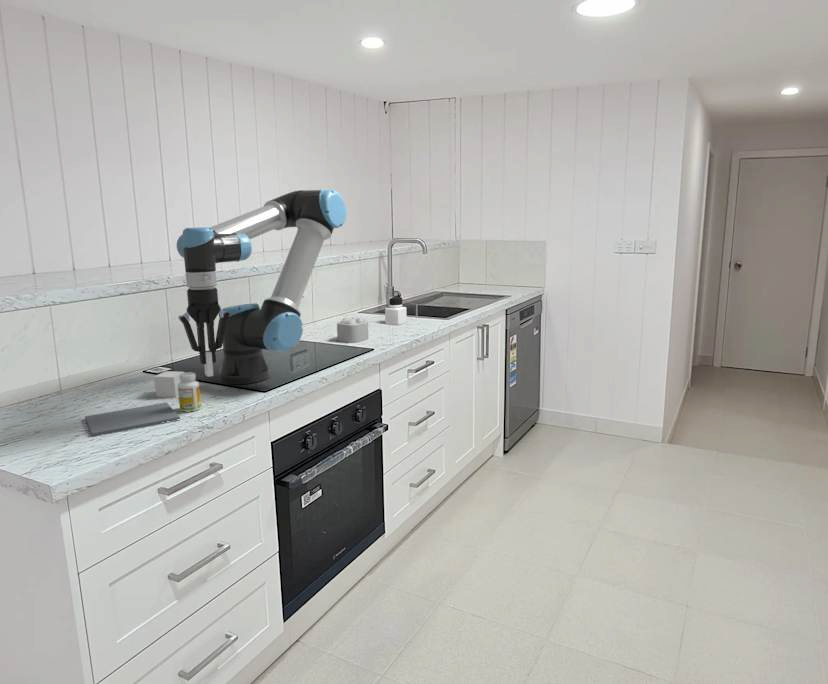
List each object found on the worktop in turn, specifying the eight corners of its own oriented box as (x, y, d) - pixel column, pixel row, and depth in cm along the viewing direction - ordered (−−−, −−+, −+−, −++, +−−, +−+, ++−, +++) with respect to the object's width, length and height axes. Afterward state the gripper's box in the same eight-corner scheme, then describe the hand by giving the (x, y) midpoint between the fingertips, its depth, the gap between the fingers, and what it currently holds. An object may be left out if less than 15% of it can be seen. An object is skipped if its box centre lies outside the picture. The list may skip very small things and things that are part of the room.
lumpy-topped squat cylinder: (334, 341, 251) (333, 319, 249) (354, 335, 261) (353, 314, 259) (354, 343, 245) (353, 321, 243) (374, 337, 255) (374, 316, 254)
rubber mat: (166, 405, 173) (166, 402, 172) (180, 420, 160) (179, 417, 160) (85, 419, 162) (84, 416, 162) (92, 436, 150) (92, 433, 149)
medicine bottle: (407, 322, 286) (406, 296, 283) (398, 325, 280) (397, 298, 278) (393, 321, 290) (393, 295, 287) (385, 324, 284) (384, 297, 281)
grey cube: (156, 397, 181) (154, 376, 179) (167, 391, 186) (165, 371, 185) (176, 397, 180) (173, 377, 178) (186, 391, 186) (184, 371, 184)
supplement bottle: (194, 404, 172) (191, 370, 170) (205, 408, 169) (202, 373, 167) (176, 409, 168) (172, 374, 166) (187, 413, 165) (183, 377, 163)
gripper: (179, 291, 158) (187, 382, 163) (231, 287, 165) (237, 374, 170) (172, 288, 164) (180, 375, 169) (222, 284, 171) (229, 368, 176)
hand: (209, 375), depth 170 cm, fingers closed
